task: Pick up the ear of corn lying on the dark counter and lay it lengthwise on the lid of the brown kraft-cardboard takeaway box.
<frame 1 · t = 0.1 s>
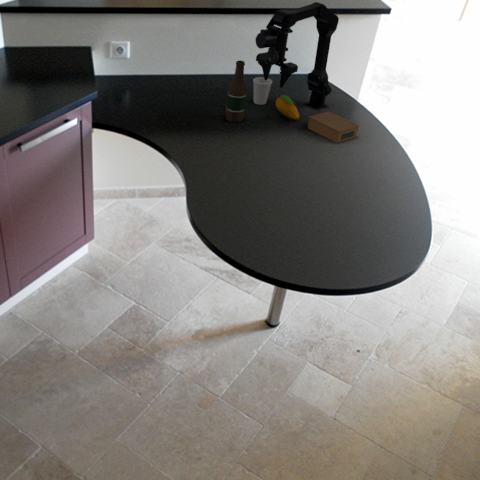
hand: (273, 83, 240), 15 cm above the countertop, tool pointing down, fingers open, 9 cm apart
corn: (287, 116, 250), on the countertop
dixie cup: (259, 102, 262), on the countertop
takeaway box: (331, 132, 238), on the countertop
beer bottle: (234, 119, 246), on the countertop
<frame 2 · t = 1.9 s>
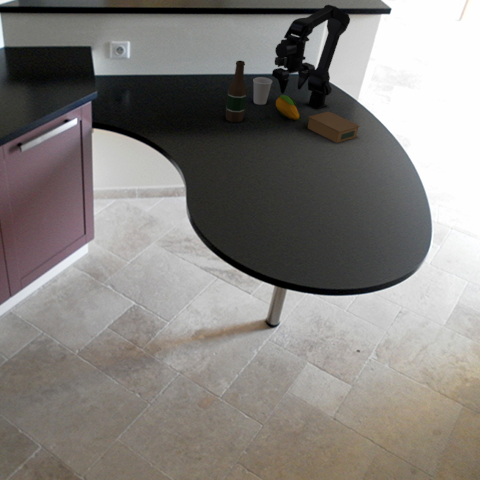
hand: (290, 91, 244), 11 cm above the countertop, tool pointing down, fingers open, 9 cm apart
nothing on the countertop moved.
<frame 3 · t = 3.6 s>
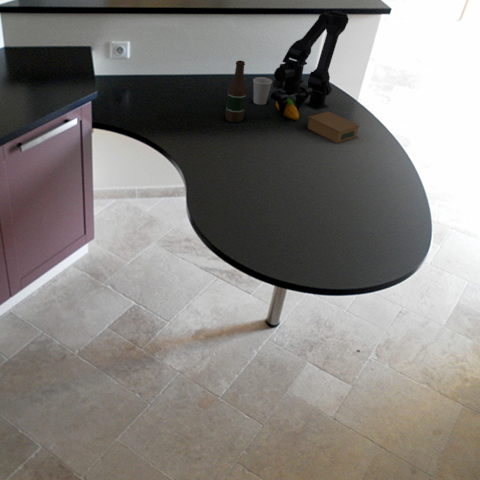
hand: (288, 112, 249), 2 cm above the countertop, tool pointing down, fingers closed on corn, 8 cm apart
corn: (287, 116, 250), on the countertop, touching gripper
everything else where it was.
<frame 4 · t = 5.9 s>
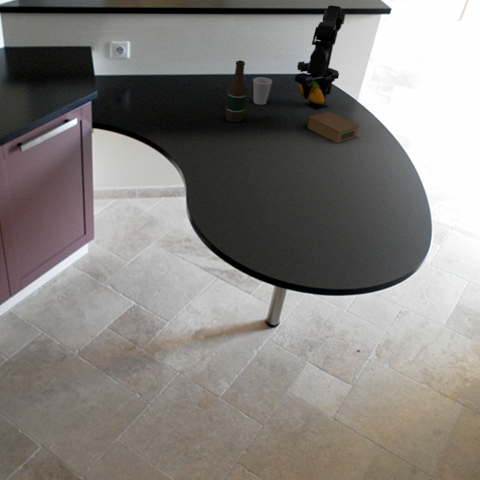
hand: (313, 97, 238), 12 cm above the countertop, tool pointing down, fingers closed on corn, 8 cm apart
corn: (312, 101, 238), point 10 cm above the countertop, touching gripper
everything else where it was.
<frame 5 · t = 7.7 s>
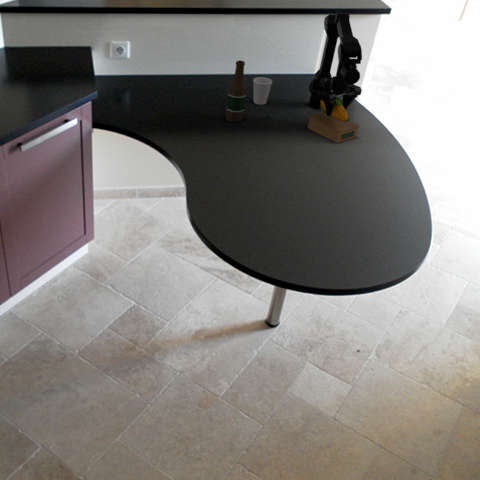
hand: (335, 113, 233), 8 cm above the countertop, tool pointing down, fingers closed on corn, 8 cm apart
corn: (334, 118, 234), point 6 cm above the countertop, touching gripper
everything else where it was.
when the fingers open (7 cm above the countertop, at t = 8.8 s): corn stays where it is, resting on takeaway box.
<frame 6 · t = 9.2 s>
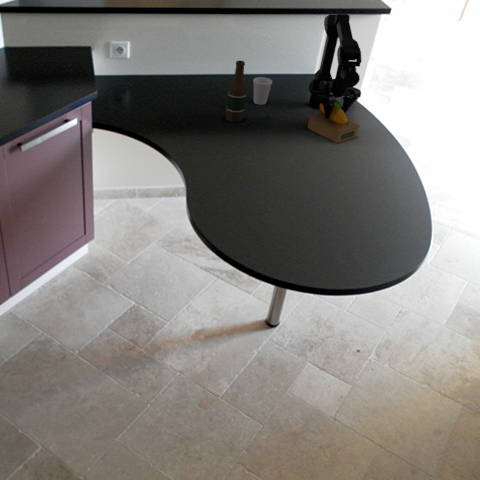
hand: (334, 116, 234), 7 cm above the countertop, tool pointing down, fingers open, 9 cm apart
corn: (333, 121, 235), point 5 cm above the countertop, touching takeaway box
everything else where it was.
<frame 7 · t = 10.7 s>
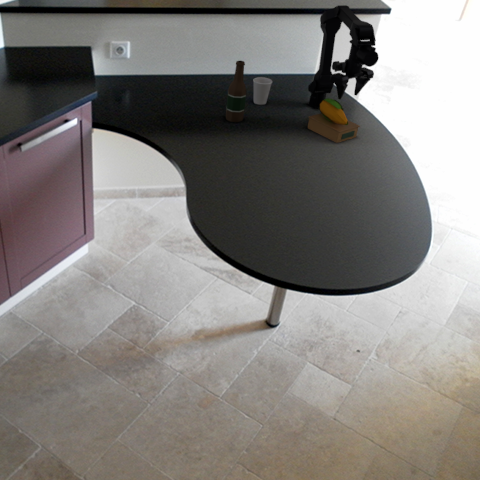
hand: (347, 97, 235), 13 cm above the countertop, tool pointing down, fingers open, 9 cm apart
nothing on the countertop moved.
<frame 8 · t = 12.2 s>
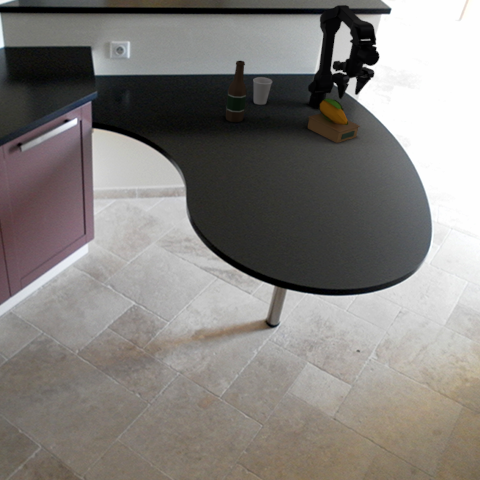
hand: (348, 96, 235), 13 cm above the countertop, tool pointing down, fingers open, 9 cm apart
nothing on the countertop moved.
at the end: corn inside the target area on the takeaway box (0.2 cm from its centre), point 4.8 cm above the takeaway box's base; corn touching takeaway box; the gripper is holding nothing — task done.
